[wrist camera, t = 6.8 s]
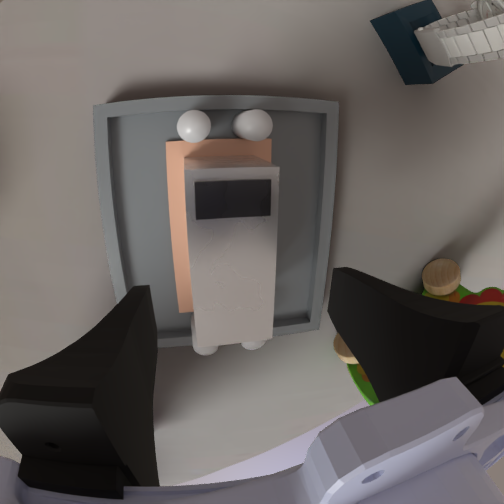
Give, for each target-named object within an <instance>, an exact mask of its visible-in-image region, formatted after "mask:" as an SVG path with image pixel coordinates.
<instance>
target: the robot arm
mask: <svg viewBox="0 0 504 504" xmlns="http://www.w3.org/2000/svg"><path fill="white" fill-rule="evenodd" d="M327 311H328V313H329V316H330V318H331V320H332V322H333V324H334V326H335V328H336V330H337V332H338V333H339V335H340V336H341V338H342V339H343V341H344V342H345V344H346V345H347V346H348V348H349V349H350V351H351V352H352V354H353V355H354V357H355V358H356V360H357V361H358V363H359V364H360V365H361V367H362V369H363V370H364V372H365V374H366V375H367V377H368V379H369V381H370V383H371V385H372V387H373V389H374V391H375V394H376V396H377V398H378V400H379V403H377V404H374V405H371V406H367V407H364V408H361V409H359V410H356V411H354V412H352V413H350V414H347V415H345V416H343V417H341V418H338V419H337V420H336V421H334V422H333V423H332V424H331V425H329V426H327V427H326V428H325V429H324V430H322V431H320V433H319V434H318V436H317V437H316V439H315V440H314V442H313V443H312V444H311V446H310V447H309V449H308V452H307V456H306V458H305V462H304V463H302V464H300V465H297V466H294V467H291V468H289V469H286V470H283V471H280V472H277V473H274V474H271V475H266V476H261V477H255V478H249V479H243V480H236V481H228V482H219V483H210V484H199V485H186V486H161V487H160V485H159V478H158V471H157V462H156V453H155V442H154V428H153V391H154V381H155V371H156V362H157V352H158V342H157V325H156V320H155V314H154V309H153V303H152V297H151V290H150V285H139V286H133V287H132V288H131V289H130V290H129V292H128V293H127V294H126V295H125V296H124V297H123V298H122V300H121V301H120V302H119V303H118V304H117V305H116V306H115V307H114V308H113V309H112V310H111V311H110V312H109V313H108V314H107V315H106V316H105V317H104V318H103V319H102V320H101V321H100V322H99V323H98V324H97V325H96V326H95V327H94V328H93V329H91V330H90V331H89V332H88V333H86V334H85V335H84V336H83V337H81V338H80V339H79V340H77V341H76V342H74V343H73V344H71V345H69V346H68V347H66V348H65V349H63V350H62V351H60V352H58V353H57V354H55V355H53V356H51V357H49V358H47V359H45V360H43V361H41V362H39V363H37V364H35V365H32V366H30V367H27V368H24V369H22V370H19V371H16V372H14V373H11V374H8V376H7V378H6V380H5V382H4V385H3V387H2V389H1V391H0V428H1V429H2V431H3V432H4V433H5V435H6V436H7V437H8V438H9V440H10V441H11V442H12V443H13V445H14V446H15V447H16V448H17V449H18V450H19V452H20V453H21V454H22V459H21V463H20V464H19V463H18V462H16V461H14V460H12V459H9V458H6V457H2V456H0V504H504V495H503V494H502V493H501V491H500V490H499V488H498V487H497V486H496V484H495V483H494V481H493V480H492V479H491V477H490V476H489V475H488V473H487V472H486V470H487V469H489V468H490V467H491V466H492V465H493V464H495V463H496V462H497V461H498V460H499V459H500V458H502V457H503V456H504V367H503V365H504V359H503V358H502V357H501V354H502V352H503V350H504V306H501V305H475V304H464V303H456V302H450V301H445V300H440V299H436V298H431V297H428V296H424V295H421V294H417V293H414V292H411V291H408V290H405V289H403V288H400V287H397V286H395V285H392V284H390V283H387V282H385V281H382V280H380V279H378V278H375V277H373V276H370V275H368V274H366V273H363V272H360V271H358V270H355V269H352V268H348V267H343V268H333V275H332V283H331V290H330V297H329V304H328V310H327Z"/></svg>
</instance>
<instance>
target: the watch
mask: <svg viewBox="0 0 504 504" xmlns="http://www.w3.org/2000/svg"><path fill="white" fill-rule="evenodd" d="M471 8H472V9H473V10H469V11H465V12H462V13H458V14H454V15H452V16H449V17H446V18H443V19H442V18H441V16H440V14H439V12H438V10H437V9H436V7H435V5H434V3H433V2H432V0H425V1H422V2H419V3H415V4H412V5H409V6H407V7H404V8H401V9H398V10H396V11H393V12H391V13H388V14H385V15H383V16H381V17H378V18H376V19H373V20H371V21H370V22H371V24H372V25H373V27H374V28H375V30H376V32H377V33H378V35H379V37H380V38H381V40H382V42H383V44H384V45H385V47H386V49H387V51H388V52H389V54H390V56H391V58H392V60H393V62H394V64H395V65H396V67H397V69H398V71H399V73H400V75H401V77H402V79H403V81H404V83H405V85H411V84H433V83H435V82H436V81H438V80H439V79H441V78H443V77H444V76H446V75H447V74H449V73H451V72H452V71H454V70H456V69H457V68H459V67H460V66H462V65H464V64H468V63H475V62H483V61H489V60H496V59H499V58H500V59H503V58H504V0H476V1H474V2H473V3H472V4H471ZM458 18H459V19H458ZM466 18H467V19H466ZM467 20H468V21H467ZM455 21H456V22H455ZM468 22H469V24H468ZM456 23H457V24H456ZM457 25H458V26H457ZM469 25H470V26H469ZM470 27H471V28H470ZM471 29H472V30H471ZM489 45H490V47H489ZM473 46H474V47H473ZM474 48H475V49H474ZM490 48H491V49H490ZM491 50H492V51H491ZM476 53H477V54H476ZM482 53H483V55H482ZM483 56H484V57H483ZM484 59H485V60H484Z"/></svg>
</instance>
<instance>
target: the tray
mask: <svg viewBox="0 0 504 504" xmlns="http://www.w3.org/2000/svg"><path fill="white" fill-rule="evenodd" d="M93 122H94V145H95V161H96V173H97V184H98V193H99V202H100V210H101V218H102V225H103V232H104V239H105V245H106V251H107V257H108V262H109V268H110V273H111V278H112V283H113V288H114V293H115V297H116V302H117V304H118V303H119V302H120V301H121V300H122V298H123V297H124V296H125V295H126V294H127V293H128V292H129V290H130V289H131V288H132V287H133V286H139V285H150V290H151V297H152V303H153V309H154V314H155V320H156V325H157V342H158V348H165V347H179V346H191V345H193V348H194V350H195V352H197V353H198V354H201V355H210V354H213V353H214V352H216V351H217V349H218V347H219V345H218V346H208V347H198V346H197V337H196V328H195V319H194V309H193V299H192V288H191V277H190V264H189V251H188V237H187V221H186V203H185V182H184V158H187V157H206V156H236V155H255V156H257V157H259V158H261V159H264V160H266V161H268V162H270V163H272V164H274V165H276V166H279V167H280V168H279V201H278V229H277V254H276V276H275V297H274V316H273V334H272V337H273V336H280V335H287V334H294V333H300V332H306V331H313V330H319V326H320V319H321V312H322V305H323V298H324V290H325V283H326V275H327V266H328V258H329V249H330V239H331V229H332V218H333V207H334V194H335V181H336V165H337V147H338V123H339V102H336V101H327V100H318V99H307V98H294V97H279V96H256V95H200V96H177V97H162V98H150V99H139V100H130V101H121V102H113V103H106V104H99V105H93ZM265 342H266V340H261V341H253V342H245V343H241V344H242V346H243V347H244V348H246V349H248V350H255V349H258V348H260V347H262V346H263V345H264V344H265Z"/></svg>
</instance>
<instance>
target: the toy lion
mask: <svg viewBox="0 0 504 504" xmlns="http://www.w3.org/2000/svg"><path fill="white" fill-rule="evenodd" d="M422 280H423V284H424V287H425V289H424V291H423V293H422V295H424V296H428V297H431V298H436V299H440V300H445V301H450V302H456V303H464V304H475V305H501V306H504V290H501V289H499V288H496V287H489V288H485V289H483V290H482V291H480V292H478V293H473V292H471V291H469V290H468V289H466V288H465V287H463V286H462V285H460V281H461V276H460V269H459V266H458V265H457V263H456V262H454V261H453V260H450V259H437V260H434V261H432V262H430V263H429V264H427V265H426V267H425V268H424V270H423V272H422ZM333 345H334V350H335V352H336V353H337V355H338V357H339V358H340V359H341V360H342V361H344V362H346V363H347V368H348V371H349V373H350V375H351V377H352V379H353V381H354V383H355V384H356V386H357V388H358V389H359V391H360V393H361V394H362V396H363V397H364V398H365V400H366V401H367V402H368V404H369V405H370V406H371V405H374V404H377V403H379V400H378V398H377V396H376V394H375V391H374V389H373V387H372V385H371V383H370V381H369V379H368V377H367V375H366V374H365V372H364V370H363V369H362V367H361V365H360V364H359V363H358V361H357V360H356V358H355V357H354V355H353V354H352V352H351V351H350V349H349V348H348V346H347V345H346V344H345V342H344V341H343V339H342V338H341V336H340V335H339V333H337V335H336V337H335V339H334V344H333ZM501 357H502V358H503V359H504V350H503V352H502V354H501ZM503 367H504V365H503Z"/></svg>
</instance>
